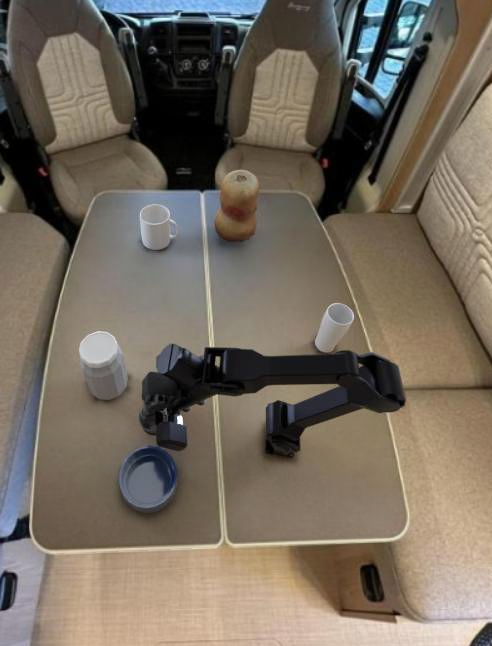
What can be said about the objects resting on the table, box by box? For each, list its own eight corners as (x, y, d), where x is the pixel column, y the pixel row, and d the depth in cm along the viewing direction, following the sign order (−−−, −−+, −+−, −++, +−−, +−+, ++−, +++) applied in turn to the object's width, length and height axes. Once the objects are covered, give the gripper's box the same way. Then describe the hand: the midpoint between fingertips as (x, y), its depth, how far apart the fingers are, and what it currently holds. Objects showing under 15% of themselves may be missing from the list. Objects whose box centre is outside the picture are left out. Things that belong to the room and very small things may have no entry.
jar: (81, 380, 105) (67, 344, 91) (114, 359, 109) (105, 320, 95) (102, 410, 100) (90, 376, 86) (135, 386, 104) (129, 349, 90)
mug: (142, 231, 140) (139, 204, 131) (177, 230, 141) (177, 203, 132) (142, 251, 134) (139, 225, 125) (179, 250, 135) (179, 223, 126)
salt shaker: (167, 410, 94) (163, 387, 84) (166, 436, 90) (162, 416, 81) (141, 410, 94) (135, 387, 84) (139, 436, 90) (132, 416, 81)
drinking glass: (308, 349, 112) (323, 318, 101) (315, 330, 116) (330, 298, 105) (332, 360, 110) (350, 329, 99) (339, 340, 114) (357, 309, 103)
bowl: (172, 518, 86) (171, 512, 81) (115, 508, 86) (112, 502, 82) (181, 458, 93) (181, 450, 89) (129, 449, 94) (126, 441, 90)
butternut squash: (208, 245, 137) (213, 184, 118) (218, 219, 145) (224, 158, 126) (249, 255, 134) (261, 194, 115) (257, 228, 143) (269, 167, 124)
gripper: (164, 330, 80) (115, 360, 88) (165, 426, 68) (109, 451, 76) (204, 348, 86) (155, 375, 94) (212, 439, 74) (155, 461, 82)
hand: (144, 412), depth 87 cm, fingers closed on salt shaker, 3 cm apart
